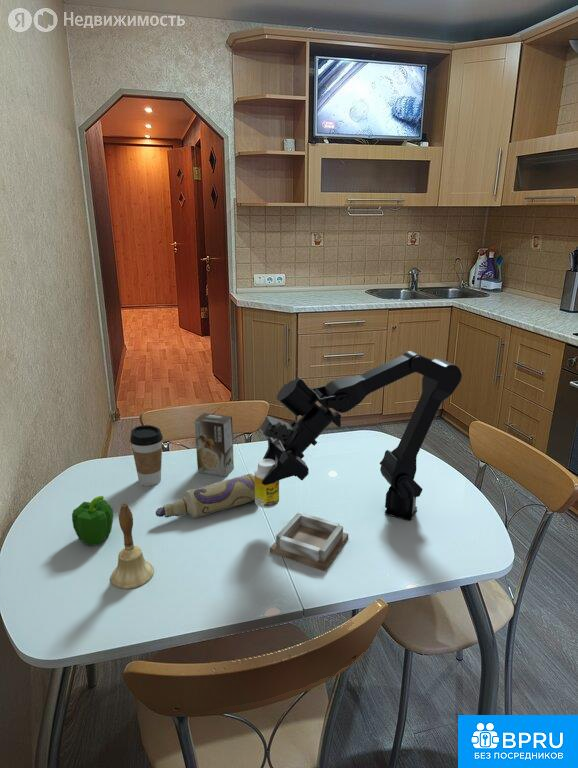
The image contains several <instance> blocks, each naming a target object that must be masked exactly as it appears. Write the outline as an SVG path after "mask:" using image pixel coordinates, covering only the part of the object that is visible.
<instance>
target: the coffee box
mask: <svg viewBox="0 0 578 768" xmlns="http://www.w3.org/2000/svg"><path fill="white" fill-rule="evenodd" d="M194 431H195V432H194V433H195V446H196V449H195V450H196V464H197V472H198V473H202V474H206V475H214V476H220V477H227V476H228V475H229V474H231V472H232V471H233V469H235V465H234V464H235V462H234V441H233V440H234V437H233V436H234V435H233V416H231V415H224V414H216V413H208V412H207V413H206V412H203V413H202V414H200V415H199V416H198V417H197V418H196V419H195V420H194Z"/></svg>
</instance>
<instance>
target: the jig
mask: <svg viewBox="0 0 578 768" xmlns="http://www.w3.org/2000/svg"><path fill="white" fill-rule="evenodd" d="M275 538H276V539H275V541H274V543H273V544H271V546H270V547H269V553H272V554H275V555H278V556H281V557H284V558H286V559H289V560H291V561H295V562H297V563H300V564H304V565H307V566H310V567H313V568H315V569H317V570H322V571H323V572H325V571H326V570H327V569H328V568H329V566H330V565H331V564H332V562H333V560H334V558H335V557H336V556H337V554H338V553H339V552H340V550H342V547H343V546H344V545H345V543H346V542H347V541H348V539H349V533H347V532H344V526H343V525H341V524H340V523H339V522H336V521H332V520H329V519H326V518H321V517H319V516H315V515H312V514H307V513H306V512H305V513H304V512H303V513H300V512H297V513H296V514H295V515H294V516H293V517H292V518H291V519H290V521H289V522H287V524H286V525H285V526H284V527H283V528H282V529H281V530H280V531H279V532H278V533H277V534H276V535H275Z"/></svg>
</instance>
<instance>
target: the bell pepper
mask: <svg viewBox="0 0 578 768" xmlns="http://www.w3.org/2000/svg"><path fill="white" fill-rule="evenodd" d="M71 520H72V527H73V529H74V531H75V534H76V536H77V538H78V539H79V540H80V541H81V542H83V543H85V544H86V545H87V546H96V545H97V546H98V545H101V543H103V542H104V541H105V539H106V538H108V537H109V536H110V534H111V532H112V528H113V523H114V511H113V508H112V506H111V505H110V504H109V503H108V501H106V499H104V495H99V496H96V497H94V498H93V499H92V500H91V501H83V502H81V504H80V505H79V506H77V507H76V508H74V509H73V511H72V513H71Z"/></svg>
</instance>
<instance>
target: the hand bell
mask: <svg viewBox="0 0 578 768" xmlns="http://www.w3.org/2000/svg"><path fill="white" fill-rule="evenodd" d="M119 509H120V510H119V512H118V523H119V527H120V529H121V531H122V535H123V546H124V547H123V548H122V549H121V550H120V551H118V556H117V557H118V558H117V566H116V567H115V569H114V570H113V571H112V573H111V575H110V582H111V584H112V585H113V586H115V587H116V588H118V589H124V590H129V589H135V588H138V587H140V586H143V585H145V584H146V583H148V582H149V581H150V580H151V579H152V577H153V576H154V573H155V570H154V566H153V565H152V563H150V562H149V561H147V560H146V559H145V557H144V555H143V551H142V549H141V547H140V546H137V545H134V540H133V527H134V517H133V513H132V511H131V509H130V507H129V505H128V503H127V502H125V503H122V504H120V507H119Z"/></svg>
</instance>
